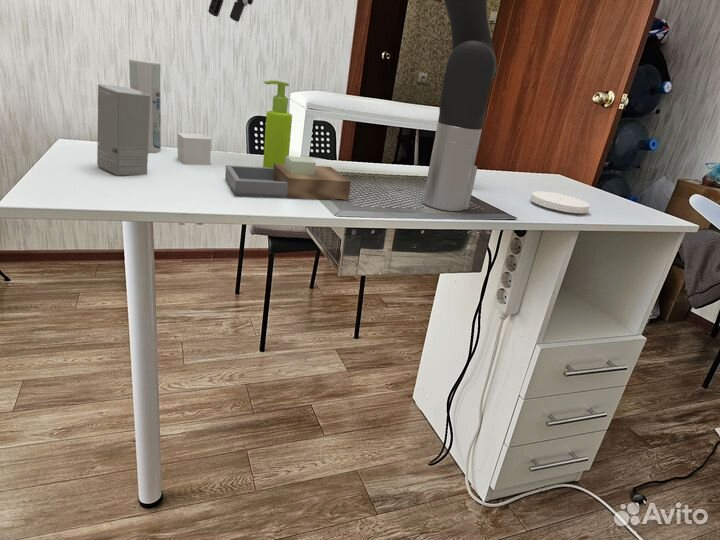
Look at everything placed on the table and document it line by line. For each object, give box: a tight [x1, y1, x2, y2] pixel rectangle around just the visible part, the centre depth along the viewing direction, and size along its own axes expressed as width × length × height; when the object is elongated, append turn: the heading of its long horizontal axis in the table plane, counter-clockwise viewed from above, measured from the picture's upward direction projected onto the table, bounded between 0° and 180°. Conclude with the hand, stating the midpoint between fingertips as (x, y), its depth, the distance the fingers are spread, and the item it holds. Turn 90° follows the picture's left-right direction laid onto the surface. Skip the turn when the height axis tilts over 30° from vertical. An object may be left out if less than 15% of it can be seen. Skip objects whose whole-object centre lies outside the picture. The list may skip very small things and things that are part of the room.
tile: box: [285, 155, 317, 175], centre depth 103 cm, size 5×5×2 cm
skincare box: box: [96, 83, 150, 177], centre depth 97 cm, size 8×7×16 cm
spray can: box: [128, 58, 162, 154], centre depth 117 cm, size 6×6×20 cm
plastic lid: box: [529, 190, 591, 214], centre depth 126 cm, size 14×14×2 cm
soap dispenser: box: [262, 80, 293, 168], centre depth 117 cm, size 6×7×20 cm
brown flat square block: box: [273, 163, 352, 201], centre depth 105 cm, size 13×13×4 cm
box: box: [224, 164, 288, 199], centre depth 101 cm, size 10×13×3 cm
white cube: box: [177, 132, 212, 166], centre depth 115 cm, size 6×6×6 cm
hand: (223, 17), depth 112 cm, fingers open, 8 cm apart
